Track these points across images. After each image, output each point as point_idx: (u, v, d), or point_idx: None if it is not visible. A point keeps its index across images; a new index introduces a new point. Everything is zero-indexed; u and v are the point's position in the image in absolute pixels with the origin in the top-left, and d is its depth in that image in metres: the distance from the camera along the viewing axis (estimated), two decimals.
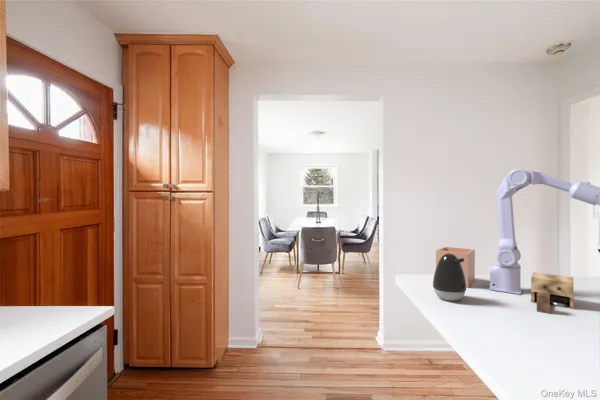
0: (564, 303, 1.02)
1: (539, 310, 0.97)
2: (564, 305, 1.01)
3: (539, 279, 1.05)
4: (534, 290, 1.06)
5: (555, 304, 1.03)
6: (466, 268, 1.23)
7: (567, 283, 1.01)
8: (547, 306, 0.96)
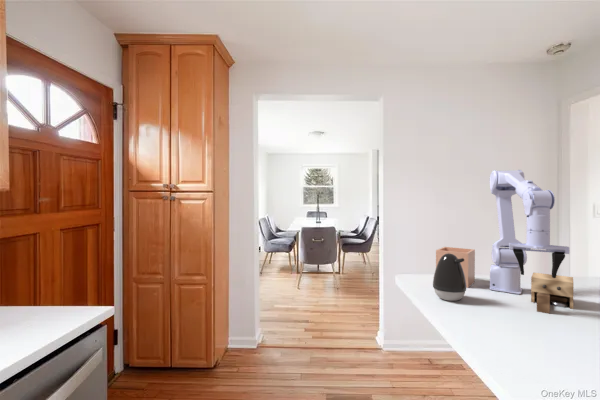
0: (564, 303, 1.02)
1: (539, 310, 0.97)
2: (564, 305, 1.01)
3: (539, 279, 1.05)
4: (534, 290, 1.06)
5: (555, 304, 1.03)
6: (466, 268, 1.23)
7: (567, 283, 1.01)
8: (547, 306, 0.96)
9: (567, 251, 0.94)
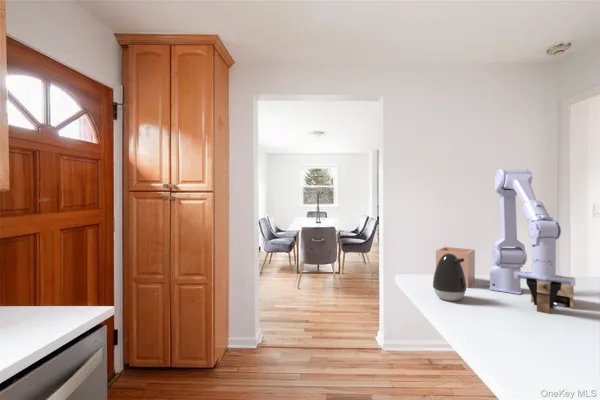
0: (564, 303, 1.02)
1: (539, 310, 0.97)
2: (564, 305, 1.01)
3: None
4: None
5: (555, 304, 1.03)
6: (466, 268, 1.23)
7: None
8: (547, 306, 0.96)
9: (573, 283, 0.93)
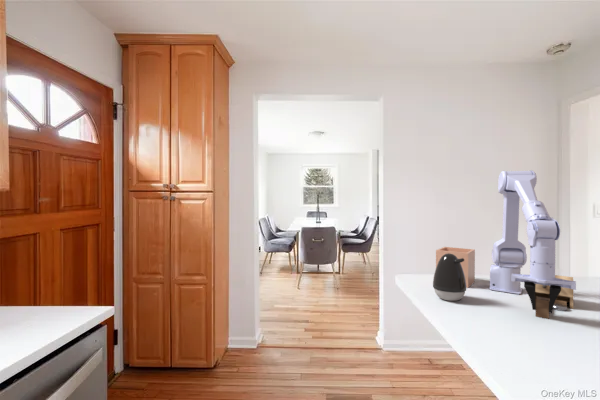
0: (564, 306, 0.99)
1: (538, 315, 0.93)
2: (564, 308, 0.98)
3: None
4: None
5: (554, 307, 0.99)
6: (466, 268, 1.23)
7: None
8: (546, 311, 0.92)
9: (573, 286, 0.88)
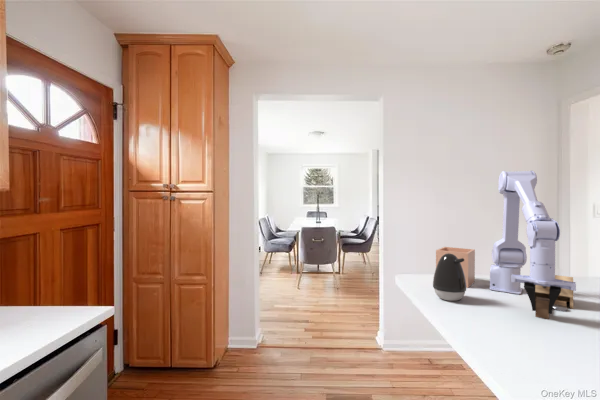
0: (564, 307, 0.99)
1: (538, 315, 0.93)
2: (564, 309, 0.98)
3: None
4: None
5: (554, 308, 0.99)
6: (466, 268, 1.23)
7: None
8: (546, 311, 0.92)
9: (573, 288, 0.87)
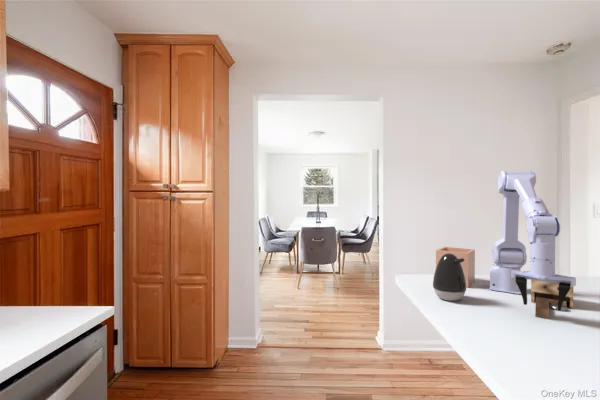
0: (564, 307, 0.99)
1: (538, 315, 0.93)
2: (564, 309, 0.98)
3: None
4: (534, 290, 1.06)
5: (554, 308, 0.99)
6: (466, 268, 1.23)
7: None
8: (546, 311, 0.92)
9: (573, 283, 0.87)
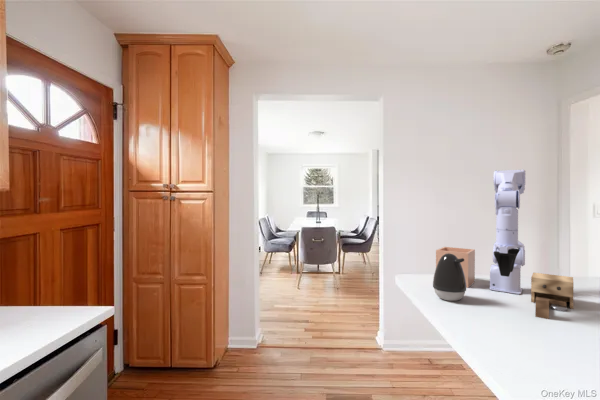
0: (564, 307, 0.99)
1: (538, 315, 0.93)
2: (564, 309, 0.98)
3: (539, 279, 1.05)
4: (534, 290, 1.06)
5: (554, 308, 0.99)
6: (466, 268, 1.23)
7: (567, 283, 1.01)
8: (546, 311, 0.92)
9: None
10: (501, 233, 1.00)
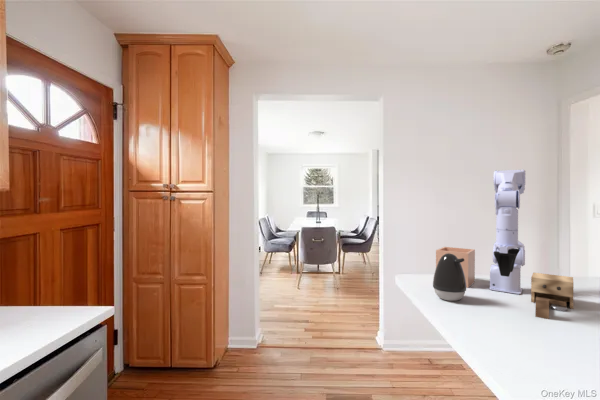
0: (564, 307, 0.99)
1: (538, 315, 0.93)
2: (564, 309, 0.98)
3: (539, 279, 1.05)
4: (534, 290, 1.06)
5: (554, 308, 0.99)
6: (466, 268, 1.23)
7: (567, 283, 1.01)
8: (546, 311, 0.92)
9: None
10: (501, 233, 1.00)
